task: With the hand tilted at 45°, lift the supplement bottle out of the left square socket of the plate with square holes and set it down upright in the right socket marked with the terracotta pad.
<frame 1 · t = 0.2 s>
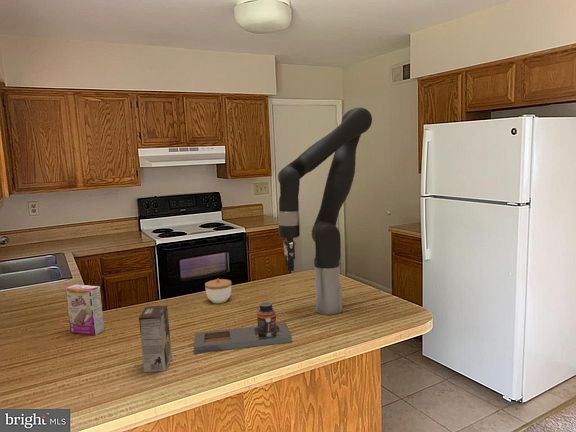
hand: (289, 268, 157), 18 cm above the countertop, tool pointing down, fingers open, 8 cm apart
candy bar box: (87, 332, 153), on the countertop
supplement bottle: (267, 338, 141), resting in plate with square holes
plate with square holes: (242, 340, 140), on the countertop
coffee box: (158, 364, 126), on the countertop
lidded jar: (219, 301, 180), on the countertop
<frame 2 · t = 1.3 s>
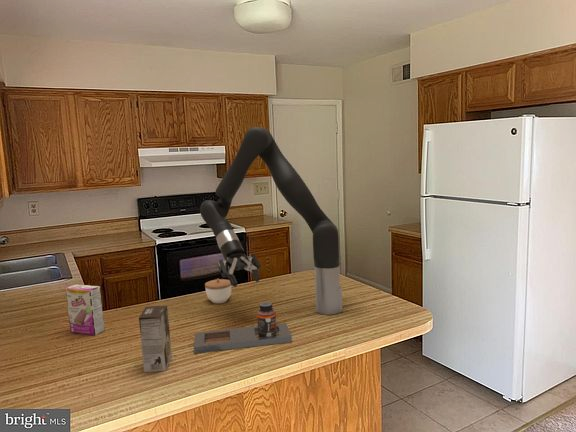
hand: (247, 283, 148), 16 cm above the countertop, tool tilted 45°, fingers open, 8 cm apart
nothing on the countertop moved.
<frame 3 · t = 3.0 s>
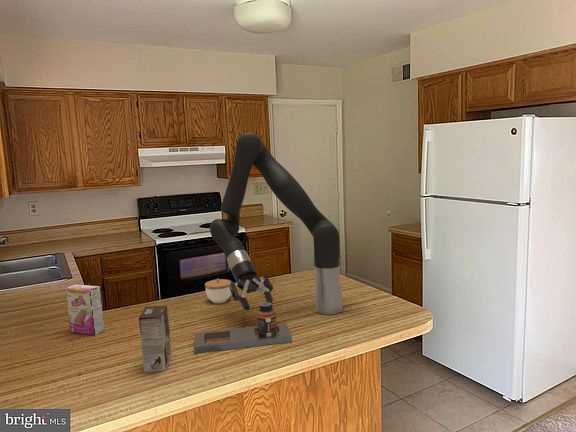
hand: (259, 306, 143), 9 cm above the countertop, tool tilted 45°, fingers open, 8 cm apart
nothing on the countertop moved.
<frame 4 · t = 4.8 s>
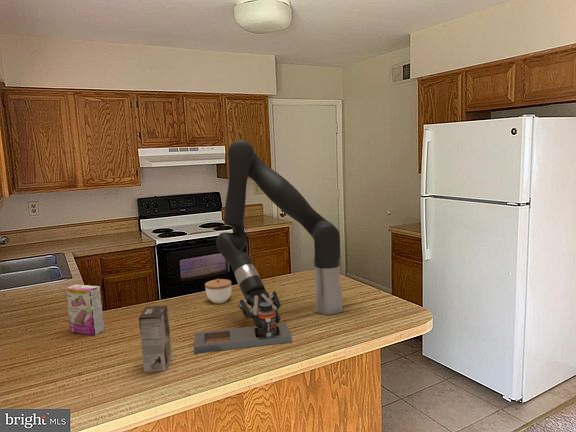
hand: (269, 324, 139), 5 cm above the countertop, tool tilted 45°, fingers closed on supplement bottle, 6 cm apart
supplement bottle: (267, 338, 141), resting in plate with square holes, touching gripper
everything else where it was.
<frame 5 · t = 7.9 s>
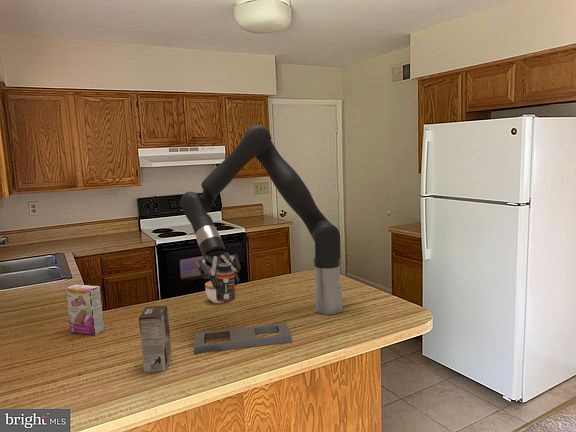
hand: (227, 285, 135), 19 cm above the countertop, tool tilted 45°, fingers closed on supplement bottle, 6 cm apart
supplement bottle: (225, 300, 137), point 14 cm above the countertop, touching gripper
everything else where it was.
when the fingers open (7 cm above the countertop, at t = 11.0 s): supplement bottle drops 1 cm, resting on plate with square holes.
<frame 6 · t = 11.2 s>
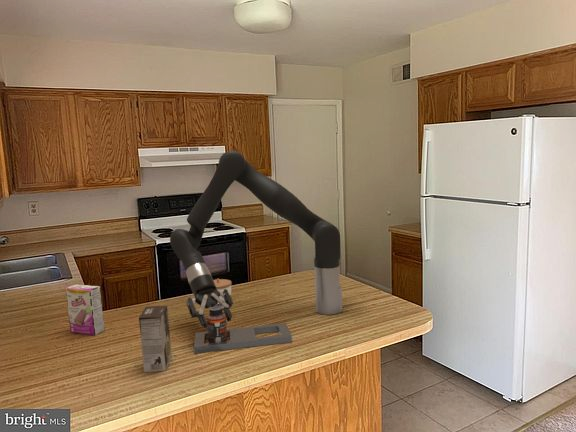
hand: (218, 323, 136), 7 cm above the countertop, tool tilted 45°, fingers open, 7 cm apart
supplement bottle: (217, 342, 139), resting on plate with square holes
everything else where it was.
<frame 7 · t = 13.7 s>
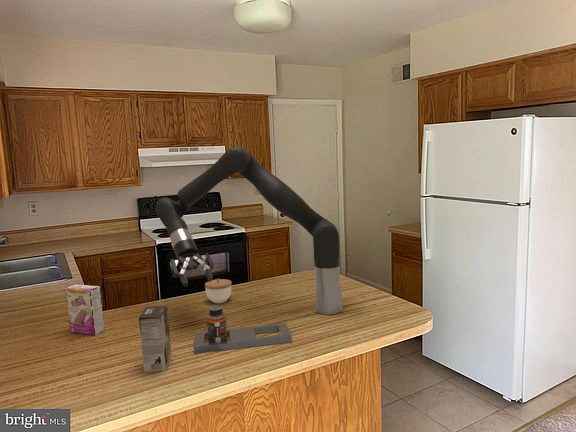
hand: (199, 283, 146), 17 cm above the countertop, tool tilted 45°, fingers open, 8 cm apart
nothing on the countertop moved.
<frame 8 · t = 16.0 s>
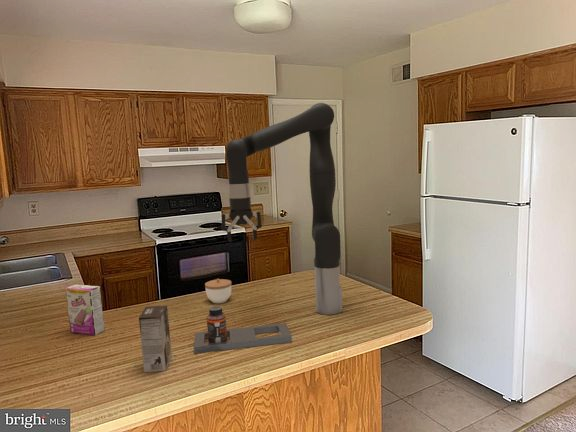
hand: (242, 240, 158), 28 cm above the countertop, tool pointing down, fingers open, 8 cm apart
nothing on the countertop moved.
at the end: supplement bottle 0.3 cm from the target spot on the plate with square holes, point 0.0 cm above the plate with square holes's base; supplement bottle tilted 0°; the gripper is holding nothing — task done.
